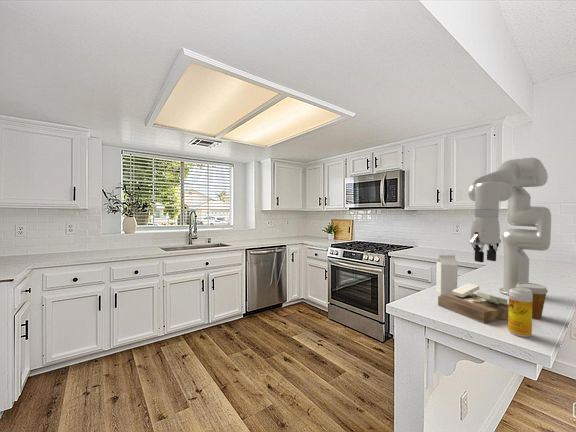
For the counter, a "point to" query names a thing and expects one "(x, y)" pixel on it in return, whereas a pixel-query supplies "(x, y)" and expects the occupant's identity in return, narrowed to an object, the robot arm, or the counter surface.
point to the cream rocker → (465, 290)
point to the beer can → (520, 311)
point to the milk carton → (446, 274)
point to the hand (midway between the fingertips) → (485, 260)
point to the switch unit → (475, 307)
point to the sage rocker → (492, 298)
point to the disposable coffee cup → (536, 297)
